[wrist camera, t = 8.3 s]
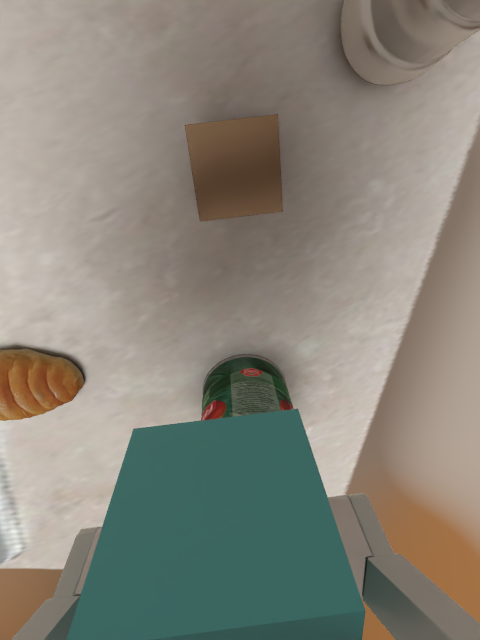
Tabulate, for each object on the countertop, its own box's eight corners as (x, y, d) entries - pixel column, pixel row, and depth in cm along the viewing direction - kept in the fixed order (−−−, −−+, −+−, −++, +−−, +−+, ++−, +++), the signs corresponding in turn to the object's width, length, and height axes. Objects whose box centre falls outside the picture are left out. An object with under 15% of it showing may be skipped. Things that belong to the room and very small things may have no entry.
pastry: (75, 337, 28) (55, 361, 24) (95, 399, 31) (79, 429, 27) (-38, 346, 28) (-74, 372, 24) (-7, 409, 30) (-35, 440, 27)
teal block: (133, 429, 10) (62, 651, 5) (297, 408, 10) (365, 610, 5) (166, 531, 12) (135, 752, 7) (301, 514, 12) (351, 723, 8)
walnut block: (191, 133, 22) (184, 125, 17) (265, 125, 22) (277, 114, 17) (203, 211, 24) (199, 221, 20) (270, 203, 24) (282, 211, 20)
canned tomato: (188, 373, 30) (173, 476, 20) (268, 341, 29) (294, 432, 19) (223, 432, 33) (226, 546, 23) (296, 405, 32) (332, 511, 22)
